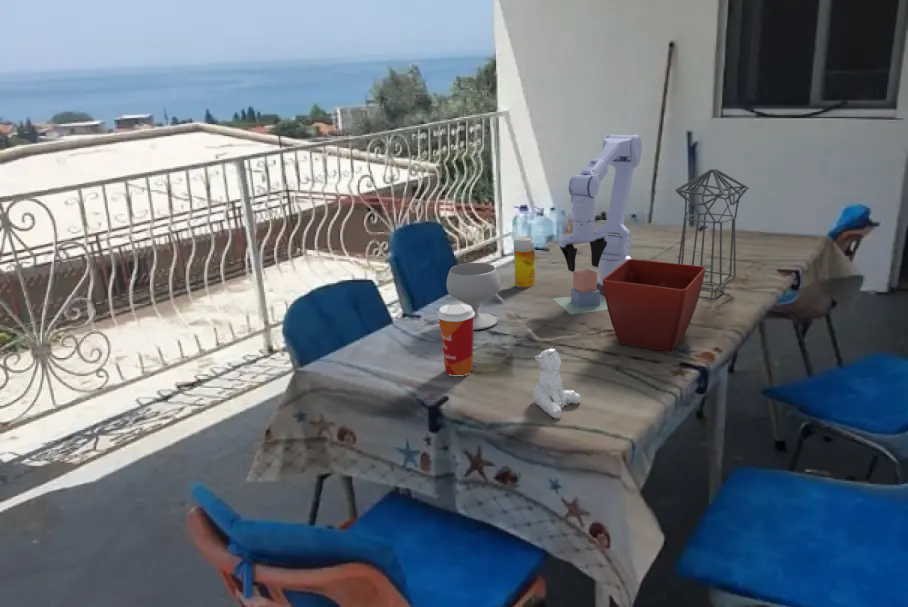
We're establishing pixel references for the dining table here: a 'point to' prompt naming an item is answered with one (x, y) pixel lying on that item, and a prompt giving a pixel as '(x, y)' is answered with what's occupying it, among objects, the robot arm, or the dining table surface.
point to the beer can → (524, 262)
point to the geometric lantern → (696, 181)
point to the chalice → (474, 289)
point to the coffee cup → (457, 337)
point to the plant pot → (652, 302)
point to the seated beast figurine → (552, 385)
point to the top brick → (585, 280)
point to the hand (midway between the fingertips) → (583, 268)
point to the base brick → (585, 298)
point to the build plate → (573, 309)
